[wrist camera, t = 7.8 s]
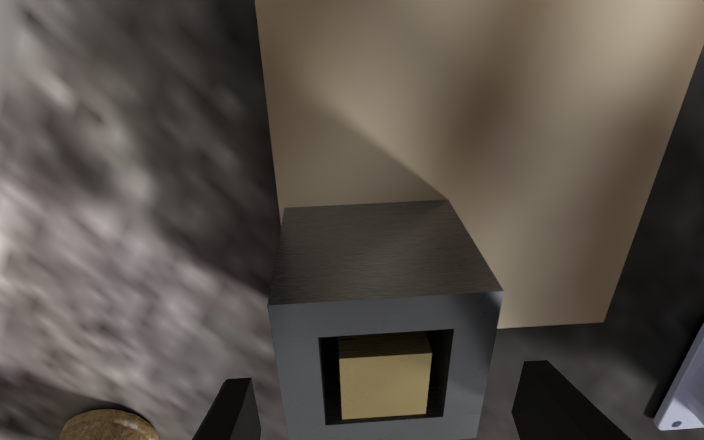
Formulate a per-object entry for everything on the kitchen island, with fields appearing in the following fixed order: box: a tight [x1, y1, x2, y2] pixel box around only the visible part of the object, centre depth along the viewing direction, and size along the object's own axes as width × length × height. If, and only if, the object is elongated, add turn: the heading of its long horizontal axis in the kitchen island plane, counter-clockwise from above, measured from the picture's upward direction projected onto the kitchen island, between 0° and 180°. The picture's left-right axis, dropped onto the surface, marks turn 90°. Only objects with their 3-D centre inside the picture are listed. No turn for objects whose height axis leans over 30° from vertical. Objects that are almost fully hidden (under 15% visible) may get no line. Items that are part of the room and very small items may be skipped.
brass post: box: [338, 331, 432, 419], centre depth 14 cm, size 2×2×6 cm
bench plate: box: [255, 0, 704, 329], centre depth 15 cm, size 13×13×1 cm
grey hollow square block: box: [267, 200, 504, 440], centre depth 13 cm, size 6×6×5 cm
